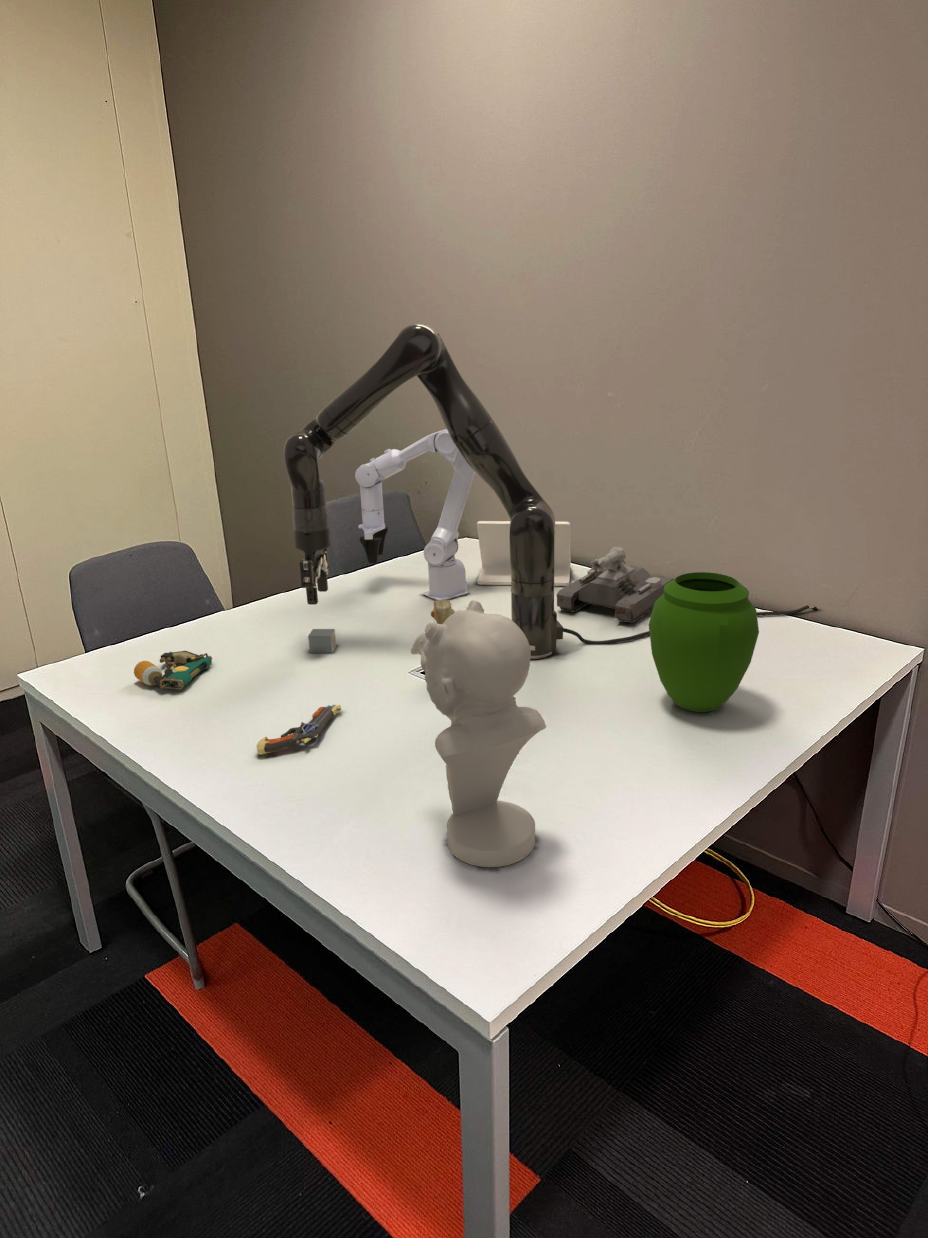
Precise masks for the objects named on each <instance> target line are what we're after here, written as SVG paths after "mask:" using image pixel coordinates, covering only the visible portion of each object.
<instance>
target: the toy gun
mask: <svg viewBox="0 0 928 1238" xmlns="http://www.w3.org/2000/svg"><path fill="white" fill-rule="evenodd" d="M341 711H342V705H340V704H332V705H327V706H319V707H318V708H317V709H316V710H315V712H313V714H312V715H311V716H312V719H311V720H310V721H308V722H306V723H305V722H303V721H301V722H300V725H299V726H298V727H296V726H294V727H291V728H289V729H288V730H287V731H286V732H284V733H282V734H281V735H280V737H277V738H268V737H267V736H264V737H263V738H261V739H260V740H258V742H257V743H256V752H257V754H258V755H260V756H261V755H266V754H269V753H273V752H277V751H281V750H284V749H287V748H292V747H294V746H297V745H301V744H303V743H304V744H308V743H309V742H310V741H311V740H314V739H316V738H318V736H319V735H320V734H322V732H323V731H324V729H325V728H326V725H327V724H328V723H329V722H330V721H331V719H333V717H334V716H336V715H337V713H339V712H341Z"/></svg>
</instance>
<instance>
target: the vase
mask: <svg viewBox="0 0 928 1238" xmlns="http://www.w3.org/2000/svg"><path fill="white" fill-rule="evenodd" d="M749 595H750V591H749V589H748V588H747V587H746V586H744V585H743V583H740V582H739V581H738V580H737V579H735V578H734V577H732V576H730V575H726V574H721V573H716V572H708V571H707V572H706V571H698V572H697V571H696V572H687V573H682V574H680V575H677V576H676V577H675V578H674V579H673V580H672V581H670V582H668V583H667V584H666V585H665V586H664V594H663V595H662V596H661V597H660V598H659V599H657V601H656V602H655V603H654V606H653V609H652V610H651V613H650V617H649V621H648V631H649V632H650V635H649V638H650V639H649V641H650V648H651V655H652V658H653V659H652V660H653V662H654V665H655V668H656V671H657V675H658V677H659V680H660V683H661V685H662V687H663V688H664V690H665V692H666V693H667V695H668V696H669V698H670V699H671V700H672V701H673V702H674V704H675V705H676V706H678V707H679V708H681V709H684V710H687V711H690V712H694V713H707V712H712V711H715V710H717V709H719V708H721V707H722V706H723V705H724V704H725V703H726V702H728V701H729V699H730V698H731V697H732V696H733V694H734V693H735V692H736V691H737V690H738V688H739V686H740V684H741V683H742V680H743V678H744V677H745V675H746V673H747V671H748V668H749V667H750V665H751V663H752V659H753V655H754V653H755V649H756V645H757V642H758V637H759V634H760V628H759V620H758V616H757V612H758V611H757V609H756V607H755V605H753V603H752V602H751V600H750V599H749Z"/></svg>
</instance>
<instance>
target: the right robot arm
mask: <svg viewBox="0 0 928 1238" xmlns="http://www.w3.org/2000/svg"><path fill="white" fill-rule="evenodd" d="M415 377H416V378H418V380H419V381H420V383H422V385H423V386H424V388H425V389H426V390H427V391H428V393H429V395H430V397H431V398H432V399H433V401H434V403H435V405H436V408H437V410H438V413H439V415H440V418H441V420H442V422H443V424H444V427H445V429H447V431H448V433H449V435H450V437H451V439H452V441H453V442H454V444H455V445H456V447H457V448H458V450H459V452H460V453H461V455H462V456H463V458H464V459H465V461H466V462H467V463H468V464H469V466H470V467H471V468H472V469H473V470H474V471H475V472H476V473H475V474H477V476H478V477H479V478H480V479H481V480H483V482H484V483H486V484H487V486H489V488H491V490H492V491H493V492H494V493H495V495H496V496H497V498H498V499H499V501H500V503H501V505H502V506H503V508H504V510H505V512H506V514H507V516H508V519H509V520H510V521H511V522H510V567H511V585H510V588H511V589H510V597H511V599H510V603H511V604H510V606H511V607H510V609H511V610H510V615H511V617H510V619H511V620H512V621H513V622H514V623H515V624H516V625H517V626H518V627H519V628H520V629H521V630H522V632H523V633H524V634H525V636H526V638H527V640H528V643H529V646H530V652H531V653H530V655H531V656H530V660H540V659H545V658H548V657H550V656H552V655H557V654H558V653H557V650H558V649H557V648H558V647H557V645H558V644H557V643H558V641H560V640H564V633H566V634H570V635H573V636H575V637H576V638H577V639H578V640H579V641H580V642H582V643H584V644H587V645H610V644H616V643H617V644H618V643H622V642H623V643H624V642H628V641H632V640H637V639H639V638H642V637H647V636H650V632H649V630H647V631H643V632H641V633H637V634H634V635H630V636H626V637H625V636H624V637H619V638H612V639H606V640H590V639H585V638H583V636H582V635H581V634H580V633H579V632H577V631H575V630H573V629H569V628H566V627H564V626H563V625H562V624H561V623H560V622H559V620H558V613H557V612H556V611H555V586H554V570H555V566H554V539H555V522H556V517H555V513H554V511H553V510H552V507H551V506H550V505H549V504H548V502H547V501H546V500H545V498H543V497H542V495H541V494H540V493H539V492H538V490H537V489H536V487H534V485H533V484H532V482H531V481H530V480H529V479H528V477H527V476H526V474H525V473H524V471H523V470H522V467H521V465H520V464H519V462H518V459H517V458H516V456H515V454H514V452H513V450H512V448H511V447H510V445H509V444H508V443H509V442H507V440H506V438H505V436H504V435H503V433H502V431H501V430H500V428H499V426H498V424H497V423H496V422H495V420H494V419H493V417H492V416H491V414H490V413H489V412H488V410H487V409H486V407H485V406H484V404H483V403H482V402H481V400H480V399H479V397H477V395H476V394H475V393H474V391H473V390H472V389H471V387H470V386H469V385H468V384H467V382H466V381H465V379H464V378H463V377H462V374H461V373H460V371H459V369H458V368H457V366H456V364H455V362H454V360H453V359H452V357H451V354H450V352H449V351H448V348H447V346H446V344H445V341H444V340H443V338H442V335H441V334H440V333H439V331H438V330H436V329H435V328H434V327H432V326H431V325H429V324H426V323H412V324H409V325H407V326H405V327H403V328H402V329H401V330H400V331H399V333H398V334H397V336H396V337H395V339H394V340H393V341H392V342H391V344H390V345H389V346H388V348H387V349H386V350H385V351H384V353H383V354H382V355H381V356H380V357H379V358H378V360H377V361H375V362H374V364H372V366H370V368H369V369H368V370H367V371H365V372H364V373H363V374H362V375H361V376H360V377H358V378H357V379H356V380H355V381H353V382H352V383H351V384H350V385H349V386H348V387H346V388H345V389H344V390H342V391H341V392H339V394H338V395H336V396H335V397H334V398H333V399H332V400H331V401H330V402H329V403H328V404H326V405H325V406H324V407H322V409H321V410H320V411H319V413H318V414H317V416H316V417H315V418H313V419H312V420H311V421H310V422H308V424H306V425H305V426H304V427H302V428H300V430H298V431H297V432H295V433H294V434H292V435H290V436H289V437H288V438H287V439H286V440H285V443H284V446H283V460H284V465H285V470H286V474H287V476H288V477H287V478H288V481H289V483H290V493H291V503H292V525H293V532H294V533H293V535H294V545H295V548H296V549H297V550H298V551H302V552H303V553H304V557H303V559H302V560H299V569H300V570H299V572H300V583H301V584H300V586H301V589H305V593H306V602H307V605H310V606H311V605H313V606H315V605H317V604H318V603H319V597H318V596H319V595H318V592H319V593H321V592H322V593H326V592H328V591H329V584H328V583H329V582H328V575H329V570H330V568H331V566H330V556H329V547H330V546H331V544H332V543H331V530H330V520H329V512H328V508H327V507H328V506H327V500H326V498H327V497H326V489H325V483H324V481H323V479H322V478H321V477H320V471H319V462H318V461H319V460H320V459H321V458H322V457H323V456H324V455H325V454H327V452H329V451H330V450H331V448H333V447H334V446H335V444H336V443H338V441H340V440H342V439H344V438H346V436H348V434H350V433H351V432H352V431H353V430H354V429H356V428H357V427H358V426H359V425H360V424H362V422H363V421H365V420H366V418H368V417H369V416H370V415H371V414H372V412H374V411H375V409H377V408H378V406H380V405H381V404H382V402H383V401H384V400H385V399H386V398H387V397H388V396H389V395H391V394H392V393H393V392H394V391H395V390H397V389H398V388H399V387H402V386H403V384H405V383H406V382H408V381H410V380H411V379H413V378H415ZM808 605H809V604H807V605H804V606H802V607H800V608H797V609H792V610H779V611H756V612H757V617H758V616H760V617H761V616H784V615H785V616H786V615H787V616H788V615H795V614H798V613H801V612H804V611H806V610H809V609H810V608H809V606H808ZM811 610H813V611H816V612H817V611H818V612H819V608H818V607H817V606H815V607H814V608H811Z"/></svg>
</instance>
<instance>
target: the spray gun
mask: <svg viewBox="0 0 928 1238" xmlns="http://www.w3.org/2000/svg"><path fill="white" fill-rule="evenodd" d="M212 660H213V657H212V656H211V655H208V653H207V652H205V653H201V654H197V653H194V652H192V651H191V652H190V651H188V650H180V651H169V652H164V653H162V654H161V655H160V658H159V660H158V662H159V663H161V664H163V663H165V664H166V668H165V670H163V672H164V674H163V673H162V669H160V668H159V666H157V665H156V664H154V663H152V662H151V661H149V660H141V661H139V662H138V663H136V665H135V666H134V668H133V675H134V677H135V678H136V679H137V680H139V681H140V682H142V683H143V684H145V685H147V686H155V685H157V686H158V687H160V688H161V689H171V690H172V689H173V690H182V689H184V687H185V686H186V685H188V684H189V683H190V682H191V681H192V679H193V678H195V677H196V676H197V675H198V674H200V673H201V672H202V671H203V670H206V669H208V668H209V667H210V666H211V665H212V662H213V661H212ZM178 663H179V664H181V665H179V666H176V665H177V664H178Z"/></svg>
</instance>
